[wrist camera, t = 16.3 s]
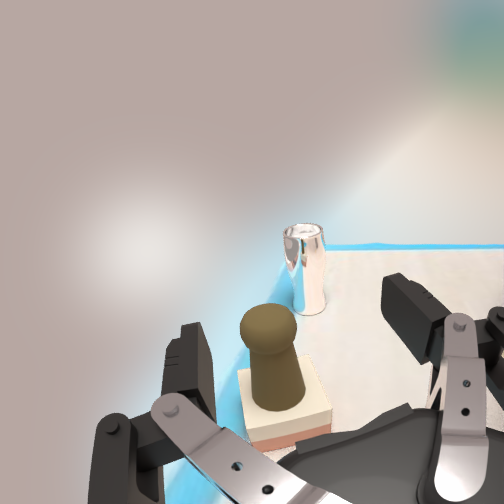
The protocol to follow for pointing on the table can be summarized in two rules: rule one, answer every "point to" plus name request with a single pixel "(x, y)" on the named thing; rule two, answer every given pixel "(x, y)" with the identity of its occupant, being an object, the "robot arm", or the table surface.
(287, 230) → the beer glass
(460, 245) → the table surface
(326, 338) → the table surface
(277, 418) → the brick base
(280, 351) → the cork
